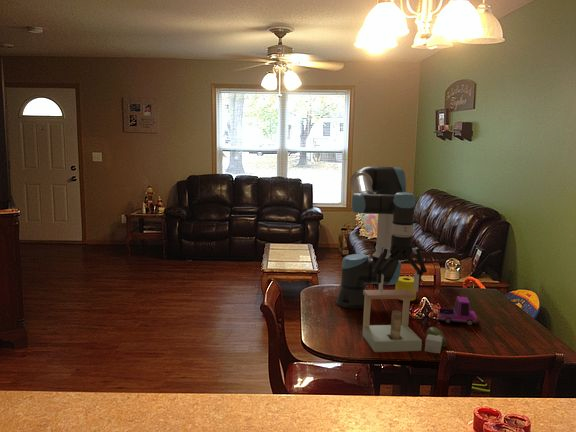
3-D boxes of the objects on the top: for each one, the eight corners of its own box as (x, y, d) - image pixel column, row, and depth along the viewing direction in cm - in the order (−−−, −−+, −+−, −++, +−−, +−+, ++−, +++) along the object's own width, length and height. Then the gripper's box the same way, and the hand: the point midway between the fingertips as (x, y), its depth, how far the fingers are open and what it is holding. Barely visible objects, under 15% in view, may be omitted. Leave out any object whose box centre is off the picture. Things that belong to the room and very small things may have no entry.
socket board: (362, 335, 207) (362, 325, 207) (405, 333, 210) (406, 324, 209) (374, 352, 192) (375, 341, 191) (421, 350, 194) (421, 340, 194)
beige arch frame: (361, 325, 207) (363, 290, 205) (406, 324, 210) (409, 289, 207) (366, 331, 201) (368, 295, 198) (413, 330, 203) (415, 294, 201)
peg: (388, 345, 198) (390, 310, 196) (397, 344, 199) (399, 310, 196) (391, 349, 195) (393, 313, 192) (400, 348, 195) (403, 313, 193)
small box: (440, 354, 192) (441, 341, 191) (424, 351, 194) (425, 339, 193) (441, 348, 197) (442, 336, 196) (426, 345, 199) (427, 333, 198)
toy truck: (476, 327, 220) (479, 304, 218) (438, 323, 223) (440, 301, 221) (472, 318, 231) (474, 296, 229) (436, 315, 233) (438, 293, 232)
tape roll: (417, 301, 251) (419, 282, 250) (397, 300, 251) (398, 281, 250) (413, 294, 261) (414, 276, 260) (393, 294, 261) (394, 275, 260)
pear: (436, 324, 206) (451, 337, 198) (434, 335, 208) (448, 349, 199) (424, 325, 205) (438, 339, 196) (422, 337, 206) (436, 351, 197)
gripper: (372, 237, 184) (368, 294, 188) (438, 237, 188) (434, 293, 191) (366, 232, 191) (362, 288, 195) (430, 233, 195) (425, 287, 199)
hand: (398, 291), depth 193 cm, fingers open, 13 cm apart
